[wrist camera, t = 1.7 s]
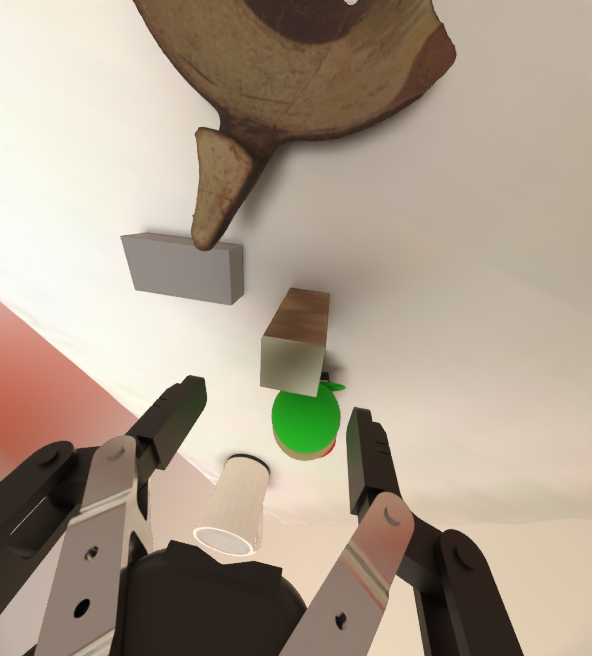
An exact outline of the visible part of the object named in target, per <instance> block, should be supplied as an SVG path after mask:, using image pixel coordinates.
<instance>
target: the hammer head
mask: <svg viewBox="0 0 592 656" xmlns="http://www.w3.org/2000/svg"><path fill="white" fill-rule="evenodd" d="M120 237H121V240H122V244H123V247H124V251H125V255H126V258H127V262H128V265H129V269H130V273H131V276H132V280H133V284H134V287H135V290H138V291H145V292H151V293H157V294H163V295H170V296H176V297H182V298H188V299H195V300H201V301H207V302H213V303H220V304H226V305H233V304H234V303H235V302H236V301H237V300H238V299H239V298H240V297H241V296H242V295H243V260H242V245H235V244H228V243H220V242H217V244H216V245H215V246H214V248H212V249H211V250H210V251H200V250H199V249H197V248H196V247H195V245H194V242H193V239H190V238H182V237H175V236H167V235H160V234H152V233H139V234H132V235H124V236H120Z"/></svg>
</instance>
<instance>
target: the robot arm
mask: <svg viewBox="0 0 592 656" xmlns="http://www.w3.org/2000/svg"><path fill="white" fill-rule="evenodd" d="M206 402H207V393H206V386H205V379H204V378H202V377H197V376H192V375H189V376H187V377H186V378H185V379H184V380H183V382H182V383H181V384H179V383H176V384H174V385H173V386H171V387H170V388H168V389H166V391H165V392H164V393H163V394H162V395H161V396H160V397H159V399H157V400H156V401H155V402H154V404H153V406H151V407H150V408H149V409H148V410H147V411H146V412H145V413H144V414H143V416H142V417H141V418H140V419H139V420H138V421H137V422H136V423H135V424H134V425H133V427H131V429H130V430H129V431H128V432H127V433H126V434H125V435H122V436H118V437H115V438H112V439H110V440H109V441H107V442H105V443H104V444H103V445H102V446H97V447H88V448H79V449H75V447H74V446H73V444H72V443H71V442H68V441H58V442H54V443H51V444H49V445H46V446H44V447H42V448H41V449H39V450H37V451H36V452H35V453H33V454H32V455H31V456H30V457H29V458H27V459H26V460H25V461H24V462H23V463H22V464H20V465H19V466H18V467H17V468H16V469H15V470H14V471H12V472H11V473H10V474H9V475H8V476H7V477H6V478H4V479H3V480H2V481H1V482H0V614H1V613H2V612H3V610H4V609H5V608H6V606H7V605H8V604H9V603H10V601H11V600H12V599H13V598H14V596H15V595H16V594H17V592H18V591H19V590H20V589H21V587H22V586H23V585H24V583H25V582H26V581H27V580H28V578H29V577H30V576H31V574H32V573H33V572H34V570H35V569H36V568H37V567H38V565H39V564H40V562H41V561H42V560H43V559H44V558H45V556H46V555H47V554H48V553H49V551H50V550H51V549H52V547H53V546H54V545H55V543H56V542H57V541H58V540H59V538H60V537H61V536H62V535H63V533H64V532H65V531H66V533H65V537H64V541H63V545H62V549H61V553H60V557H59V561H58V565H57V568H56V572H55V576H54V581H53V584H52V588H51V592H50V596H49V600H48V604H47V608H46V612H45V615H44V619H43V623H42V627H41V631H40V635H39V639H38V643H37V644H36V645H35V646H33V647H32V648H31V649H30V650H29V651H27V652H26V653H25V654H24V655H23V656H367V653H368V651H369V648H370V646H371V643H372V641H373V638H374V636H375V633H376V631H377V629H378V626H379V624H380V621H381V619H382V617H383V614H384V611H385V609H386V606H387V603H388V599H389V589H390V587H391V584H392V582H393V579H394V577H395V575H397V576H399V577H400V578H401V579H403V580H404V581H406V582H407V583H409V584H410V585H411V586H413V590H414V595H415V602H416V607H417V613H418V619H419V625H420V631H421V637H422V643H423V649H424V655H425V656H524V655H523V652H522V649H521V647H520V644H519V642H518V639H517V637H516V634H515V632H514V629H513V627H512V624H511V621H510V619H509V616H508V614H507V611H506V609H505V606H504V604H503V601H502V599H501V596H500V593H499V591H498V588H497V586H496V584H495V581H494V578H493V576H492V573H491V570H490V568H489V566H488V563H487V561H486V559H485V557H484V555H483V553H482V552H481V550H480V549H479V548H478V546H477V545H476V544H475V543H474V542H473V541H472V540H471V539H470V538H469V537H468V536H466V535H465V534H463V533H462V532H460V531H457V530H453V529H448V530H446V531H444V532H441V531H440V530H438V529H436V528H435V527H433V526H431V525H429V524H428V523H426V522H424V521H423V520H421V519H420V518H418V517H417V516H416V515H414V514H413V513H412V512H411V510H410V509H409V507H408V506H407V504H406V503H405V502H404V500H403V499H402V496H401V494H400V490H399V486H398V481H397V477H396V473H395V469H394V464H393V460H392V456H391V452H390V447H389V443H388V439H387V435H386V432H385V431H384V429H383V427H382V426H381V424H380V423H377V422H372V417H371V412H370V410H368V409H363V408H358V407H354V408H353V411H352V414H351V417H350V420H349V423H348V426H347V432H346V443H347V461H348V479H349V497H350V514H353V515H357V516H358V523H359V526H358V528H357V529H356V531H355V533H354V534H353V536H352V538H351V539H350V541H349V543H348V544H347V545H346V547H345V548H344V550H343V552H342V553H341V555H340V557H339V558H338V560H337V561H336V563H335V565H334V566H333V568H332V570H331V571H330V573H329V574H328V576H327V578H326V579H325V581H324V583H323V584H322V586H321V587H320V589H319V591H318V592H317V594H316V596H315V597H314V599H313V600H312V602H311V604H310V605H309V607H308V609H307V607H306V605H305V603H304V601H303V599H302V598H301V596H300V594H299V593H298V591H297V590H296V589H295V588H294V586H292V584H291V583H290V582H289V581H287V580H286V579H285V578H284V577H282V576H281V575H282V568H280V567H276V566H272V565H268V564H264V563H260V562H256V561H250V562H242V563H233V564H220V563H219V562H217V561H216V560H215V559H213V558H212V557H211V556H209V555H208V554H207V553H205V552H204V551H203V550H201V549H200V548H199V547H197V546H193V545H189V544H185V543H181V542H178V541H174V540H171V541H170V542H169V544H168V547H167V548H166V549H161V550H157V551H155V552H153V537H152V532H151V524H150V512H151V511H150V510H151V505H150V503H151V477H150V476H151V474H152V473H153V472H154V470H155V469H160V470H165V469H166V467H167V466H168V464H169V463H170V461H171V459H172V458H173V456H174V455H175V453H176V452H177V450H178V449H179V447H180V445H181V444H182V442H183V441H184V439H185V438H186V436H187V435H188V433H189V431H190V430H191V428H192V427H193V425H194V424H195V422H196V421H197V419H198V418H199V416H200V414H201V413H202V411H203V410H204V408H205V406H206ZM43 498H45V499H44V500H43V501H42V502H41V503H40V501H41V500H42V499H43ZM39 503H40V504H39ZM38 504H39V505H38ZM37 505H38V506H37ZM36 506H37V507H36ZM35 507H36V508H35ZM34 508H35V509H34ZM33 509H34V510H33ZM32 510H33V512H32V513H31V514H30V515H29V516H28V517H27V518H26V519H25V517H26V516H27V515H28V514H29V513H30V512H31V511H32ZM24 519H25V520H24ZM23 520H24V521H23ZM22 521H23V522H22ZM21 522H22V523H21ZM20 523H21V524H20ZM19 524H20V526H19V527H18V528H17V529H16V530H15V531H14V532H13V533H12V531H13V530H14V529H15V528H16V527H17V526H18V525H19ZM11 533H12V534H11ZM10 534H11V535H10Z"/></svg>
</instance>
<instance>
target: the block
mask: <svg viewBox="0 0 592 656" xmlns="http://www.w3.org/2000/svg"><path fill="white" fill-rule="evenodd" d="M329 297H330V294H328V293H321V292H314V291H308V290H301V289H294V288H290V290H289V291H288V293H287V295H286V297H285V298H284V300H283V302H282V303H281V305H280V307H279V309H278V310H277V312H276V314H275V316H274V317H273V319H272V321H271V323H270V324H269V326H268V328H267V330H266V331H265V333H264V335H263V337H262V338H261V372H260V386H261V387H266V388H271V389H276V390H281V391H287V392H292V393H297V394H302V395H307V396H313V397H316V396H317V391H318V386H319V381H320V376H321V371H322V366H323V361H324V356H325V351H326V338H327V324H328V311H329Z"/></svg>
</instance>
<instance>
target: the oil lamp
mask: <svg viewBox="0 0 592 656" xmlns="http://www.w3.org/2000/svg"><path fill="white" fill-rule="evenodd" d="M133 2H134V3H135V5H136V7H137V9H138V11H139V13H140V15H141V16H142V18H143V20H144V22H145V24H146V26H147V27H148V29H149V31H150V33H151V34H152V36H153V37H154V39H155V40H156V42H157V44H158V45H159V47H160V48H161V50H162V51H163V53H164V54H165V55H166V56H167V58H168V59H169V60H170V62H171V63H172V64H173V66H174V67H175V68H176V70H177V71H178V72H179V73H180V74H181V75H182V76H183V78H184V79H185V80H186V81H187V82H188V83H189V84H190V85H191V86H192V87H193V88H194V89H195V90H196V91H197V92H198V93H199V94H200V95H201V96H202V97H203V98H204V99H206V100H207V101H208V102H209V103H210V104H211V105H212V106H213V107H214V108H215V109H216V111H217V112H218V114H219V117H220V128H219V131H217V130H215V129H210V128H206V127H199V128H198V130H197V131H196V133H195V137H196V141H197V153H198V160H199V186H198V196H197V203H196V209H195V213H194V215H193V223H192V228H191V234H192V239H193V242H194V245H195V247H196V248H197V249H199V250H200V251H210V250H211V249H212V248H214V246H215V245H216V244H217V242H218V241H219V239H220V238H221V237H222V236H223V234H224V233H225V231H226V230H227V228H228V226H229V224H230V222H231V221H232V219H233V217H234V215H235V214H236V212H237V211H238V209H239V208H240V206H241V205H242V203H243V202H244V200H245V199H246V198H247V196H248V194H249V193H250V192H251V190H252V188H253V187H254V185H255V184H256V182H257V180H258V179H259V177H260V175H261V174H262V172H263V170H264V168H265V167H266V165H267V163H268V161H269V159H270V158H271V156H272V155H273V153H274V152H275V150H276V149H277V148H278V147H279V146H280V145H281V144H283V143H285V142H290V141H324V140H331V139H336V138H341V137H345V136H347V135H351V134H353V133H356V132H359V131H362V130H364V129H366V128H369V127H371V126H373V125H375V124H377V123H379V122H381V121H383V120H385V119H387V118H389V117H391V116H392V115H394V114H396V113H397V112H399V111H400V110H402V109H404V108H405V107H407V106H409V105H410V104H412V103H413V102H415V101H416V100H418V99H419V98H421V96H423V94H424V93H425V92H426V91H427V90H428V89H429V88H430V87H431V86H432V85H433V84H434V83H435V82H436V81H437V80H438V79H439V78H441V77H442V76H443V75H444V74H445V73H446V72H447V70H448V69H449V68H450V67H451V66H452V65H453V64H454V61H455V59H456V55H457V54H456V50H455V45H453V43H452V41H451V39H450V38H449V37H448V35H447V32H446V30H445V27H444V24H443V23H442V22H441V21H440V20H439V18H438V16H437V15H436V13H435V11H434V7H433V4H432V0H358V1H357V3H355V4H354V5H348V4H347V3H346V2H345V1H344V0H133Z"/></svg>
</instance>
